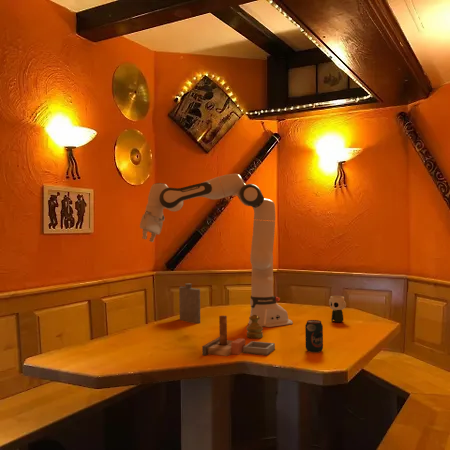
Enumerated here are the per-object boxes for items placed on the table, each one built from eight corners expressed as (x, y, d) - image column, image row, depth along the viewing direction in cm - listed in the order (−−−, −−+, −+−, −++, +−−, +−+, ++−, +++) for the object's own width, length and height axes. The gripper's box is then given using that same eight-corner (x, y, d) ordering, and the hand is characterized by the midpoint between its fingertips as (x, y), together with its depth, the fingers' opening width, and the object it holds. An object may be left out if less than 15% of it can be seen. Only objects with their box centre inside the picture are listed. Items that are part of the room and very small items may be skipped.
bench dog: (231, 354, 200) (231, 342, 200) (238, 349, 208) (238, 338, 208) (238, 354, 199) (238, 343, 199) (245, 349, 207) (245, 338, 207)
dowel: (225, 349, 208) (225, 315, 208) (228, 351, 205) (227, 316, 205) (218, 349, 207) (218, 315, 207) (220, 351, 204) (220, 317, 204)
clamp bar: (202, 355, 199) (202, 346, 199) (221, 344, 217) (221, 335, 217) (206, 355, 199) (206, 346, 199) (224, 344, 216) (224, 336, 216)
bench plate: (205, 353, 201) (204, 347, 201) (218, 345, 214) (218, 339, 214) (228, 355, 198) (228, 349, 198) (240, 347, 211) (240, 341, 210)
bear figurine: (324, 321, 263) (324, 296, 263) (333, 319, 268) (333, 294, 267) (341, 324, 255) (341, 298, 254) (350, 322, 259) (350, 297, 259)
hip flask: (201, 322, 262) (201, 284, 262) (195, 324, 259) (195, 285, 259) (183, 318, 274) (182, 281, 274) (177, 319, 271) (176, 282, 271)
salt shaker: (248, 339, 225) (248, 316, 225) (244, 335, 232) (244, 313, 232) (264, 338, 227) (264, 316, 226) (260, 334, 234) (260, 313, 234)
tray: (243, 353, 202) (243, 346, 202) (251, 347, 211) (251, 341, 211) (267, 355, 198) (267, 349, 198) (274, 349, 207) (274, 343, 207)
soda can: (314, 354, 199) (314, 323, 199) (302, 350, 205) (301, 321, 205) (326, 351, 203) (326, 321, 203) (314, 347, 209) (313, 318, 209)
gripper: (151, 210, 247) (145, 238, 245) (165, 218, 267) (160, 244, 265) (140, 208, 249) (134, 236, 247) (154, 216, 269) (149, 242, 267)
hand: (147, 240), depth 256 cm, fingers open, 8 cm apart
